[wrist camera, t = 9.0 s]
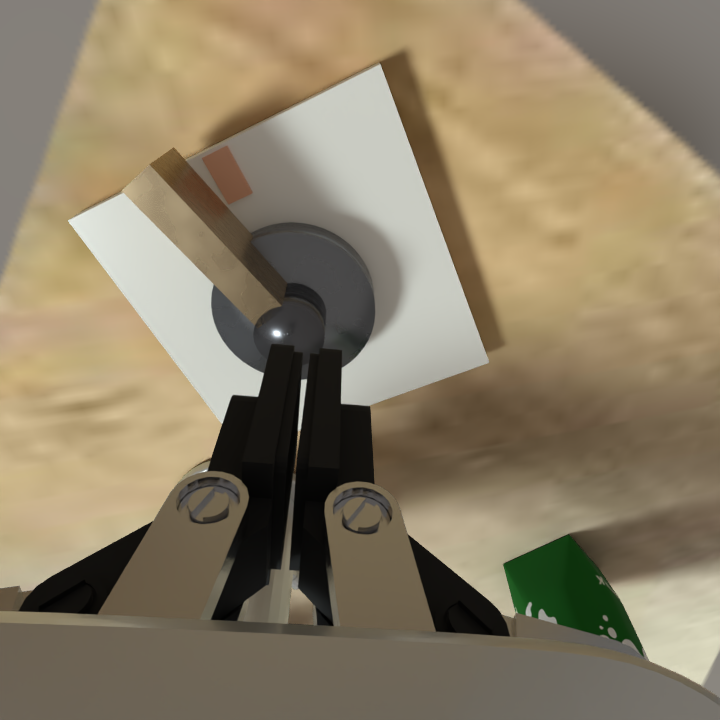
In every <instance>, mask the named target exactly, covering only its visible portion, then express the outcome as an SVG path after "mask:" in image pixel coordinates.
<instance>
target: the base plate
mask: <svg viewBox="0 0 720 720" xmlns="http://www.w3.org/2000/svg"><path fill="white" fill-rule="evenodd" d="M185 160H186V161H187V163H188V164H189V165H190V166H191V167H192V168H193V169H194V170H195V172H196V173H197V174H198V175H199V176H200V177H201V178H202V179H203V180H204V182H205V183H206V184H207V185H208V186H209V187H210V188H211V189H212V191H213V192H214V193H215V194H216V195H217V196H218V197H219V198H220V199H221V201H222V202H223V203H224V204H225V205H226V206H227V207H228V208H229V210H230V211H231V212H232V213H233V214H234V215H235V216H236V217H237V219H238V220H239V221H240V222H241V223H242V224H243V225H244V226H245V227H246V229H247V230H248V231H249V232H250V233H252V232H254V231H256V230H258V229H260V228H263V227H266V226H269V225H273V224H278V223H289V222H295V223H305V224H310V225H315V226H318V227H321V228H324V229H326V230H328V231H330V232H332V233H334V234H336V235H337V236H339V237H341V238H342V239H344V240H345V241H346V242H347V243H348V244H350V245H351V246H352V247H353V248H354V249H355V251H356V252H357V253H358V254H359V255H360V257H361V258H362V260H363V261H364V263H365V265H366V267H367V268H368V270H369V273H370V276H371V279H372V283H373V288H374V299H375V321H374V326H373V330H372V333H371V335H370V338H369V340H368V342H367V343H366V345H365V347H364V348H363V350H362V351H361V352H360V353H359V355H358V356H357V357H355V358H354V359H353V360H352V361H351V362H350V363H349V364H347V365H346V366H344V367H343V368H342V380H341V404H351V405H363V406H369V405H372V404H375V403H378V402H380V401H383V400H386V399H389V398H392V397H394V396H397V395H400V394H403V393H406V392H409V391H411V390H414V389H417V388H420V387H423V386H425V385H428V384H431V383H434V382H437V381H439V380H442V379H445V378H448V377H451V376H453V375H456V374H459V373H462V372H465V371H467V370H470V369H473V368H476V367H479V366H482V365H484V364H487V363H489V360H488V358H487V355H486V352H485V349H484V347H483V344H482V341H481V338H480V336H479V333H478V330H477V327H476V325H475V322H474V319H473V316H472V314H471V311H470V308H469V305H468V303H467V300H466V297H465V295H464V292H463V289H462V286H461V284H460V281H459V278H458V275H457V273H456V270H455V267H454V264H453V262H452V259H451V256H450V253H449V251H448V248H447V245H446V242H445V240H444V237H443V234H442V232H441V229H440V226H439V223H438V221H437V218H436V215H435V212H434V210H433V207H432V204H431V201H430V199H429V196H428V193H427V190H426V188H425V185H424V182H423V179H422V177H421V174H420V171H419V169H418V166H417V163H416V160H415V158H414V155H413V152H412V149H411V147H410V144H409V141H408V138H407V136H406V133H405V130H404V127H403V125H402V122H401V119H400V116H399V114H398V111H397V108H396V106H395V103H394V100H393V97H392V95H391V92H390V89H389V86H388V84H387V81H386V78H385V75H384V73H383V70H382V67H381V64H380V63H377V64H375V65H373V66H371V67H369V68H367V69H365V70H363V71H361V72H359V73H357V74H355V75H353V76H351V77H349V78H347V79H345V80H343V81H341V82H339V83H337V84H335V85H333V86H331V87H329V88H327V89H325V90H323V91H321V92H319V93H317V94H315V95H313V96H311V97H309V98H307V99H305V100H303V101H301V102H299V103H297V104H295V105H293V106H291V107H289V108H287V109H285V110H283V111H281V112H279V113H277V114H275V115H273V116H271V117H269V118H267V119H265V120H263V121H261V122H259V123H257V124H255V125H253V126H251V127H249V128H247V129H245V130H243V131H241V132H239V133H237V134H235V135H233V136H231V137H229V138H227V139H225V140H223V141H221V142H219V143H217V144H215V145H213V146H211V147H209V148H207V149H205V150H203V151H201V152H199V153H197V154H195V155H193V156H191V157H189V158H187V159H185ZM68 222H69V223H70V224H71V226H72V227H73V228H74V229H75V231H76V232H77V233H78V235H79V236H80V237H81V239H82V240H83V241H84V243H85V244H86V245H87V247H88V248H89V249H90V251H91V252H92V253H93V255H94V256H95V257H96V259H97V260H98V261H99V262H100V264H101V265H102V266H103V268H104V269H105V270H106V272H107V273H108V274H109V276H110V277H111V278H112V280H113V281H114V282H115V284H116V285H117V286H118V288H119V289H120V290H121V292H122V293H123V294H124V295H125V297H126V298H127V299H128V301H129V302H130V303H131V305H132V306H133V307H134V309H135V310H136V311H137V313H138V314H139V315H140V317H141V318H142V319H143V321H144V322H145V323H146V325H147V326H148V327H149V328H150V330H151V331H152V332H153V334H154V335H155V336H156V338H157V339H158V340H159V342H160V343H161V344H162V346H163V347H164V348H165V350H166V351H167V352H168V354H169V355H170V356H171V358H172V359H173V360H174V361H175V363H176V364H177V365H178V367H179V368H180V369H181V371H182V372H183V373H184V375H185V376H186V377H187V379H188V380H189V381H190V383H191V384H192V385H193V387H194V388H195V389H196V391H197V392H198V393H199V394H200V396H201V397H202V398H203V400H204V401H205V402H206V404H207V405H208V406H209V408H210V409H211V410H212V412H213V413H214V414H215V416H216V417H217V418H218V420H219V421H220V422H221V424H223V421H224V417H225V414H226V411H227V408H228V405H229V402H230V399H231V397H232V395H243V396H255V397H258V395H259V391H260V387H261V383H262V379H263V375H264V373H262V372H260V371H258V370H256V369H254V368H252V367H250V366H249V365H247V364H246V363H244V362H243V361H241V360H240V359H239V358H238V357H237V356H236V355H234V353H233V352H232V351H231V350H230V349H229V348H228V347H227V346H226V344H225V343H224V341H223V340H222V338H221V336H220V335H219V333H218V331H217V328H216V326H215V323H214V320H213V315H212V308H211V296H212V290H213V285H214V284H213V283H212V282H211V281H210V280H209V279H208V278H207V277H206V276H205V275H204V274H203V273H202V272H201V271H200V270H199V269H198V268H197V267H196V266H195V265H194V264H193V263H192V262H191V261H190V260H189V259H188V258H187V257H186V256H185V255H184V254H183V253H182V252H181V251H180V250H179V249H178V248H177V247H176V246H175V245H174V244H173V243H172V242H171V240H170V239H169V238H168V237H167V236H166V235H165V234H164V233H163V232H162V231H161V230H160V229H159V228H158V227H157V226H156V225H155V224H154V223H153V222H152V221H151V220H150V219H149V218H148V217H147V216H146V215H145V214H144V213H143V212H142V211H141V210H140V209H139V208H138V207H137V206H136V205H135V204H134V203H133V202H132V201H131V200H130V199H129V198H128V197H127V196H126V195H125V194H124V193H123V192H122V191H121V192H119V193H117V194H115V195H113V196H111V197H109V198H107V199H105V200H103V201H101V202H99V203H97V204H95V205H94V206H92V207H90V208H88V209H86V210H84V211H82V212H80V213H78V214H76V215H75V216H74V217H72V218H71V219H69V220H68ZM306 383H307V379H304V380H301V392H300V406H299V421H298V431H299V430H301V424H302V416H303V408H304V399H305V391H306Z"/></svg>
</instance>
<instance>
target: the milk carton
mask: <svg viewBox="0 0 720 720" xmlns="http://www.w3.org/2000/svg"><path fill="white" fill-rule="evenodd" d="M503 565H504V569H505V573H506V577H507V581H508V585H509V589H510V592H511V596H512V600H513V604H514V608H515V612H516V613H519V614H522V615H526V616H530V617H533V618H537V619H541V620H544V621H548V622H551V623H555V624H559V625H562V626H566V627H569V628H573V629H577V630H580V631H584V632H588V633H591V634H595V635H598V636H602V637H606V638H609V639H613V640H616V641H619V642H621V643H623V644H626V645H628V646H630V647H632V648H633V649H634V650H635V651H637V652H638V653H639V654H640V655H642V656H643V657H644V658H645V659H646V660H647V661H649V660H648V657H647V655H646V653H645V651H644V649H643V647H642V645H641V642H640V640H639V638H638V636H637V634H636V632H635V630H634V627H633V625H632V623H631V621H630V619H629V617H628V615H627V613H626V611H625V608H624V606H623V604H622V603H621V601H620V599H619V597H618V596H617V594H616V593H615V591H614V590H613V589H612V587H611V586H610V584H609V583H608V581H607V580H606V578H605V577H604V575H603V574H602V572H601V571H600V570H599V568H598V567H597V566H596V565H595V564H594V563H593V561H592V560H591V559H590V558H589V557H588V556H587V555H586V553H585V552H584V551H583V550H582V549H581V548H580V546H579V545H578V544H577V543H576V542H575V541H574V539H573V538H572V537H571V536H570V535H566V536H564V537H562V538H560V539H558V540H555V541H553V542H551V543H549V544H547V545H544V546H542V547H540V548H538V549H536V550H533V551H531V552H529V553H527V554H525V555H522V556H520V557H518V558H516V559H514V560H511V561H509V562H507V563H505V564H503Z"/></svg>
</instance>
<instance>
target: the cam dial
mask: <svg viewBox="0 0 720 720" xmlns="http://www.w3.org/2000/svg"><path fill="white" fill-rule="evenodd" d="M122 192H123V193H124V194H125V195H126V196H127V197H128V198H129V199H130V200H131V201H132V202H133V203H134V204H135V205H136V206H137V207H138V208H139V209H140V210H141V211H142V212H143V213H144V214H145V215H146V216H147V217H148V218H149V219H150V220H151V221H152V222H153V223H154V224H155V225H156V226H157V227H158V228H159V229H160V230H161V231H162V232H163V233H164V234H165V235H166V236H167V237H168V238H169V239H170V240H171V242H172V243H173V244H174V245H175V246H176V247H177V248H178V249H179V250H180V251H181V252H182V253H183V254H184V255H185V256H186V257H187V258H188V259H189V260H190V261H191V262H192V263H193V264H194V265H195V266H196V267H197V268H198V269H199V270H200V271H201V272H202V273H203V274H204V275H205V276H206V277H207V278H208V279H209V280H210V281H211V282H212V283H213V284H214V285H213V290H212V296H211V308H212V315H213V320H214V323H215V326H216V328H217V331H218V333H219V335H220V336H221V338H222V340H223V341H224V343H225V344H226V346H227V347H228V348H229V349H230V350H231V351H232V352H233V353H234V355H236V356H237V357H238V358H239V359H240V360H241V361H243V362H244V363H246V364H247V365H249V366H250V367H252V368H254V369H256V370H258V371H260V372H262V373H264V371H265V367H266V363H267V359H268V355H269V351H270V347H271V344H282V345H293V346H295V352H303V362H302V377H301V380H304V379H307V375H308V367H309V359H310V353H315V354H319V350H320V348H326V349H337V350H342V368H343V367H344V366H346V365H347V364H349V363H350V362H351V361H352V360H353V359H354V358H355V357H357V356H358V355H359V353H360V352H361V351H362V350H363V348H364V347H365V345H366V343H367V342H368V340H369V338H370V335H371V333H372V330H373V326H374V321H375V299H374V288H373V283H372V279H371V276H370V273H369V270H368V268H367V267H366V265H365V263H364V261H363V260H362V258H361V257H360V255H359V254H358V253H357V252H356V251H355V249H354V248H353V247H352V246H351V245H350V244H348V243H347V242H346V241H345V240H344V239H342V238H341V237H339V236H337V235H336V234H334V233H332V232H330V231H328V230H326V229H324V228H321V227H318V226H315V225H310V224H305V223H295V222H289V223H278V224H273V225H269V226H266V227H263V228H260V229H258V230H256V231H254V232H252V233H250V232H249V231H248V230H247V229H246V227H245V226H244V225H243V224H242V223H241V222H240V221H239V220H238V219H237V217H236V216H235V215H234V214H233V213H232V212H231V211H230V210H229V208H228V207H227V206H226V205H225V204H224V203H223V202H222V201H221V199H220V198H219V197H218V196H217V195H216V194H215V193H214V192H213V191H212V189H211V188H210V187H209V186H208V185H207V184H206V183H205V182H204V180H203V179H202V178H201V177H200V176H199V175H198V174H197V173H196V172H195V170H194V169H193V168H192V167H191V166H190V165H189V164H188V163H187V161H186V160H185V159H184V158H183V157H182V156H181V155H180V154H179V153H178V151H177V150H176V149H175V148H172V149H171V150H169V151H168V152H167V153H165V154H164V155H162V156H161V157H160V158H158V159H157V160H155V161H154V162H152V163H151V164H150V165H149V166H147V167H146V168H145V169H144V170H143V171H142V172H141V173H140V174H139V175H138V176H137V177H136V178H135V179H134V180H132V181H131V182H130V183H129V184H128V185H127V186H126V187H125V188H124V189H123V190H122Z"/></svg>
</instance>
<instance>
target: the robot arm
mask: <svg viewBox="0 0 720 720" xmlns="http://www.w3.org/2000/svg"><path fill="white" fill-rule="evenodd" d="M302 362H303V352H295V346H293V345H282V344H271V347H270V351H269V355H268V359H267V363H266V367H265V371H264V375H263V379H262V383H261V387H260V391H259V395H258V397H255V396H243V395H232V397H231V399H230V402H229V405H228V408H227V411H226V414H225V417H224V421H223V424H222V427H221V430H220V433H219V436H218V439H217V442H216V445H215V448H214V452H213V455H212V458H211V461H208V462H205V463H202V464H200V465H198V466H196V467H195V468H193V469H191V470H190V471H189V472H188V473H187V474H185V475H184V476H183V477H182V479H181V480H180V481H179V483H178V484H177V485H176V486H175V488H174V489H173V490H172V491H171V492H170V494H169V496H168V497H167V499H166V501H165V502H164V504H163V506H162V507H161V509H160V511H159V512H158V514H157V516H156V517H155V519H154V521H152V522H151V523H149V524H147V525H145V526H143V527H141V528H140V529H138V530H136V531H134V532H132V533H130V534H129V535H127V536H125V537H123V538H121V539H119V540H118V541H116V542H114V543H112V544H110V545H108V546H107V547H105V548H103V549H101V550H99V551H97V552H96V553H94V554H92V555H90V556H88V557H86V558H84V559H83V560H81V561H79V562H77V563H75V564H73V565H72V566H70V567H68V568H66V569H64V570H62V571H61V572H59V573H57V574H55V575H53V576H51V577H50V578H48V579H47V580H45V581H44V582H43V583H41V584H40V585H38V586H37V587H36V588H35V589H34V590H31V591H24V592H22V591H21V588H20V586H15V587H7V588H0V720H720V698H719V697H718V696H717V695H715V694H714V693H712V692H711V691H709V690H707V689H706V688H704V687H703V686H701V685H699V684H697V683H696V682H694V681H692V680H690V679H688V678H686V677H684V676H682V675H680V674H678V673H676V672H673V671H671V670H669V669H666V668H664V667H662V666H659V665H657V664H655V663H652V662H650V661H647V660H646V659H645V658H644V657H643V656H642V655H640V654H639V653H638V652H637V651H635V650H634V649H633V648H632V647H630V646H628V645H626V644H623V643H621V642H619V641H616V640H613V639H609V638H606V637H602V636H598V635H595V634H591V633H588V632H584V631H580V630H577V629H573V628H569V627H566V626H562V625H559V624H555V623H551V622H548V621H544V620H541V619H537V618H533V617H530V616H526V615H522V614H519V613H516V614H515V616H514V618H511V617H508V616H504V615H501V613H500V611H499V610H498V609H497V608H496V607H495V606H494V605H493V604H492V603H491V602H490V601H489V600H488V599H486V598H485V597H484V596H483V595H482V594H480V593H479V592H478V591H477V590H475V589H474V588H473V587H472V586H471V585H469V584H468V583H467V582H466V581H464V580H463V579H462V578H461V577H459V576H458V575H457V574H456V573H455V572H453V571H452V570H451V569H450V568H448V567H447V566H446V565H445V564H444V563H442V562H441V561H440V560H439V559H437V558H436V557H435V556H434V555H433V554H431V553H430V552H429V551H428V550H426V549H425V548H424V547H423V546H422V545H420V544H419V543H418V542H417V541H415V540H414V539H413V538H412V537H410V536H409V535H408V534H407V531H406V527H405V524H404V520H403V517H402V514H401V510H400V507H399V505H398V503H397V501H396V499H395V498H394V497H393V496H392V495H391V494H390V493H389V492H388V491H387V490H385V489H383V488H382V487H380V486H378V485H375V484H374V467H373V448H372V429H371V411H370V406H363V405H351V404H341V380H342V350H337V349H326V348H320V350H319V354H315V353H310V359H309V367H308V375H307V383H306V391H305V399H304V408H303V416H302V424H301V432H300V440H299V448H298V457H297V467H296V474H294V473H293V472H294V464H295V456H296V448H297V436H298V421H299V406H300V392H301V377H302ZM292 588H293V589H300V590H301V591H302V592H303V593H304V594H305V595H306V597H307V598H308V599H309V600H310V601H311V602H312V603H313V623H314V625H301V624H288V618H289V608H290V599H291V589H292Z"/></svg>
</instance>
